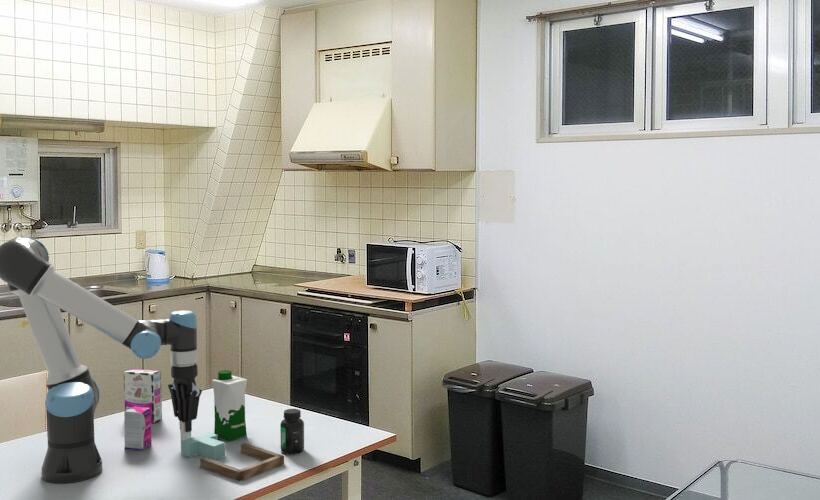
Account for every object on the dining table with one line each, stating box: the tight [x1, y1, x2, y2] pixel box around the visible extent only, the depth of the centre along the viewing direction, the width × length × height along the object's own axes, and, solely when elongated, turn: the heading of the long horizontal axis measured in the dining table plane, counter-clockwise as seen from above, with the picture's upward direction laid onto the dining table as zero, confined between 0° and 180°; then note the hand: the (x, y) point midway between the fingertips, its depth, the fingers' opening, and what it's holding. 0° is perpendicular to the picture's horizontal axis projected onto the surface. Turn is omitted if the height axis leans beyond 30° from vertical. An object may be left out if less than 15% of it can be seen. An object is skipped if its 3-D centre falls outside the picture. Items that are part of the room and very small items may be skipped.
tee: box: [180, 431, 226, 461], centre depth 232 cm, size 10×11×4 cm
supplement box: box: [123, 406, 152, 451], centre depth 237 cm, size 6×6×12 cm
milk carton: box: [211, 369, 248, 442], centre depth 246 cm, size 9×9×20 cm
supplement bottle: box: [279, 408, 305, 456], centre depth 235 cm, size 7×7×12 cm
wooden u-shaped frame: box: [199, 442, 285, 482], centre depth 223 cm, size 16×16×2 cm
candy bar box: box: [123, 368, 163, 424], centre depth 262 cm, size 11×5×16 cm, turn 73°
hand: (186, 441), depth 238 cm, fingers closed
